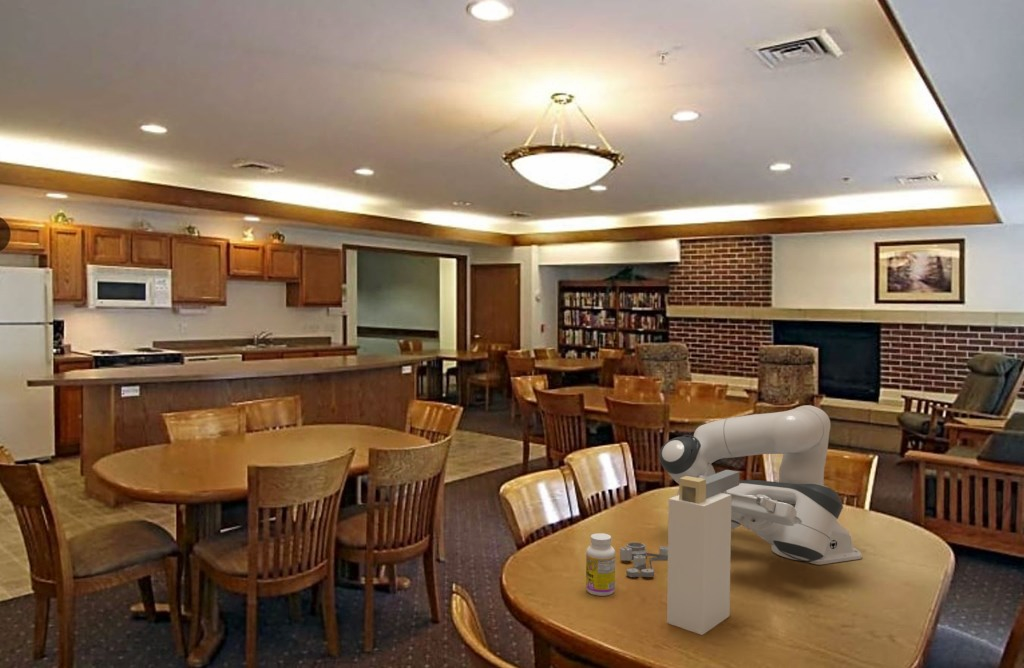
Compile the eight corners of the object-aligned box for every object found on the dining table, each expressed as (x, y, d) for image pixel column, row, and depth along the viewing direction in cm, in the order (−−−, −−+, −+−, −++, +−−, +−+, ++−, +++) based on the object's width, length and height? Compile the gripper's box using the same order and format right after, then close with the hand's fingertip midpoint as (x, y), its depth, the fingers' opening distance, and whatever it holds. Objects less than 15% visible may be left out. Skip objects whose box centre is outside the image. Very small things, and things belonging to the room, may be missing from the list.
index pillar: (695, 604, 156) (697, 487, 155) (730, 615, 150) (732, 494, 149) (667, 622, 147) (668, 498, 146) (702, 635, 141) (704, 506, 140)
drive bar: (723, 482, 160) (723, 463, 160) (742, 485, 157) (742, 466, 157) (679, 499, 145) (679, 478, 145) (698, 503, 142) (699, 481, 142)
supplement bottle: (583, 586, 166) (584, 531, 165) (611, 585, 166) (611, 531, 166) (588, 597, 159) (589, 541, 159) (617, 596, 160) (618, 540, 159)
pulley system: (594, 571, 178) (643, 584, 168) (593, 552, 178) (643, 564, 168) (656, 549, 197) (704, 560, 187) (656, 532, 198) (704, 542, 187)
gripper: (801, 537, 163) (781, 518, 154) (718, 517, 177) (696, 499, 168) (807, 510, 165) (787, 491, 156) (725, 493, 179) (703, 474, 170)
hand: (739, 495), depth 162 cm, fingers open, 8 cm apart
